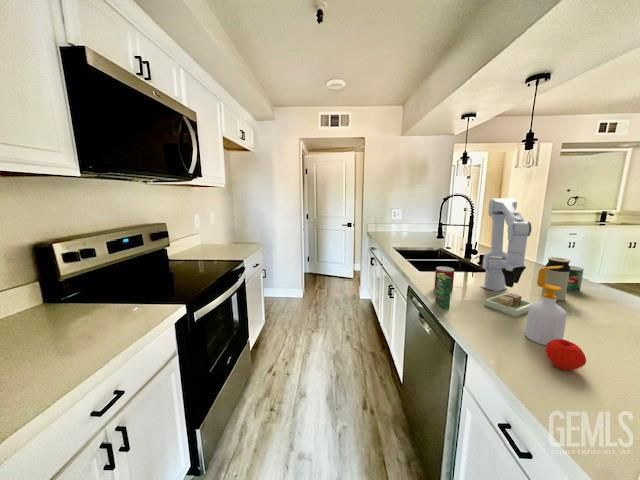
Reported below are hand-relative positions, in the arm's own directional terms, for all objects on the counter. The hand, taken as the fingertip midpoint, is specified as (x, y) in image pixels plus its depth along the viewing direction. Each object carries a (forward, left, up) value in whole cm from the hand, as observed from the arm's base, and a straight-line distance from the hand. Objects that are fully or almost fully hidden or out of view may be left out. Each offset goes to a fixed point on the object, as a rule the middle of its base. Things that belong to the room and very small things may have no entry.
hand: (511, 284), depth 106 cm
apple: (+29, +27, -10) cm, 41 cm away
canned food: (+6, -26, -10) cm, 29 cm away
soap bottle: (+17, +18, -10) cm, 27 cm away
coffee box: (+22, -15, -10) cm, 28 cm away
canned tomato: (-49, +3, -10) cm, 50 cm away
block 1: (+3, 0, -9) cm, 10 cm away
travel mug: (-29, +4, -10) cm, 31 cm away
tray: (0, 0, -10) cm, 10 cm away
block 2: (-3, 0, -9) cm, 10 cm away
